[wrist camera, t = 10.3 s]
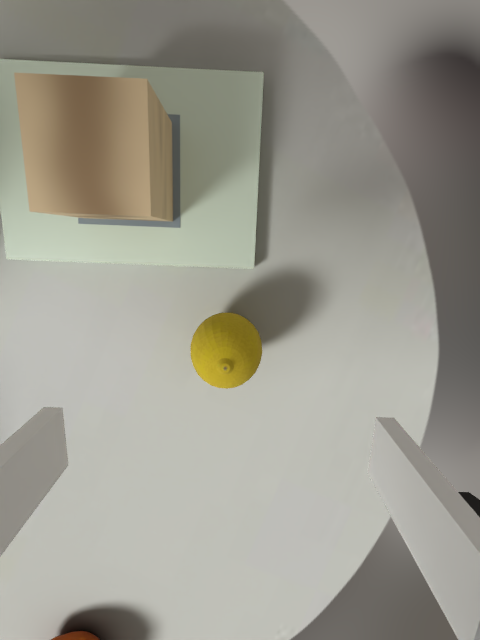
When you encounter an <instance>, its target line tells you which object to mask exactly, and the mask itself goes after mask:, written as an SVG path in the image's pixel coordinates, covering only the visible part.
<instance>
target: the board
mask: <svg viewBox="0 0 480 640" xmlns="http://www.w3.org/2000/svg"><path fill="white" fill-rule="evenodd" d="M14 73H34V74H56V75H78V76H99V77H121V78H142V79H148V81H149V83H150V85H151V86H152V88H153V90H154V92H155V94H156V95H157V97H158V99H159V101H160V102H161V104H162V106H163V108H164V109H165V111H166V113H167V115H168V117H169V118H170V120H171V122H172V169H173V222H171V221H145V220H119V219H93V218H78V217H70V216H62V215H54V214H46V213H37V212H30V211H29V202H28V193H27V184H26V175H25V166H24V157H23V148H22V140H21V131H20V122H19V113H18V104H17V95H16V86H15V77H14ZM263 79H264V72H252V71H232V70H212V69H192V68H172V67H152V66H133V65H113V64H93V63H73V62H53V61H33V60H13V59H0V212H1V220H2V228H3V235H4V243H5V251H6V258H7V259H11V260H37V261H63V262H89V263H114V264H140V265H166V266H192V267H218V268H244V269H254V261H255V241H256V221H257V200H258V180H259V160H260V140H261V119H262V99H263Z"/></svg>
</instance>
